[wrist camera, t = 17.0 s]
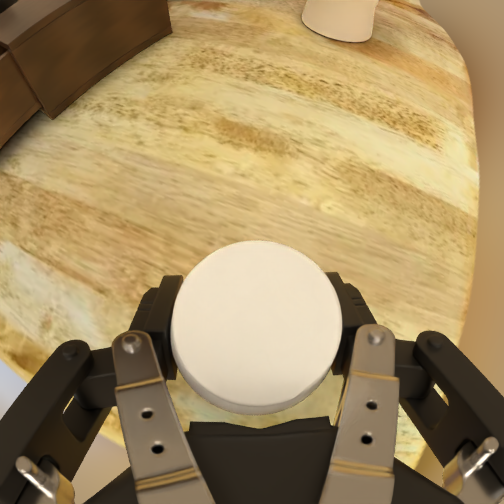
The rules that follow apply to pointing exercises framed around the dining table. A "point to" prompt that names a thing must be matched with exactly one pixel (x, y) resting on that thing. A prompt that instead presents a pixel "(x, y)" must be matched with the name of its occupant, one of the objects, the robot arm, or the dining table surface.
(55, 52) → the cabinet
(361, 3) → the cup
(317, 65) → the dining table surface
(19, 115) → the drawer
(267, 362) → the supplement bottle
